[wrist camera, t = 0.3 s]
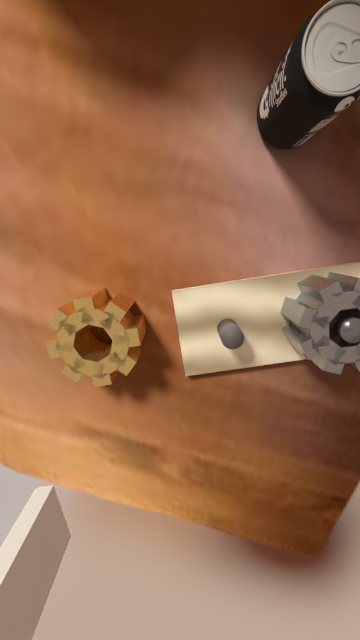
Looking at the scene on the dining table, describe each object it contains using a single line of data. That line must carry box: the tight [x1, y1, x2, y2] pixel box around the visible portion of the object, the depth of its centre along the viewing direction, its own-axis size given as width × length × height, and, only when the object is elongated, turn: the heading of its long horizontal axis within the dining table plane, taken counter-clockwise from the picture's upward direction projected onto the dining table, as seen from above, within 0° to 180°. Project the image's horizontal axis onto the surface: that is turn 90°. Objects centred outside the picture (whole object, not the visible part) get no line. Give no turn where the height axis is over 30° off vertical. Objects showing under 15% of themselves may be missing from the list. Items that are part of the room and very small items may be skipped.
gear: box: [280, 272, 360, 374], centre depth 33 cm, size 10×10×7 cm
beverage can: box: [257, 0, 360, 149], centre depth 26 cm, size 7×7×12 cm
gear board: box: [172, 261, 360, 376], centre depth 35 cm, size 11×23×5 cm, turn 99°
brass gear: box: [46, 288, 147, 387], centre depth 35 cm, size 10×10×6 cm
